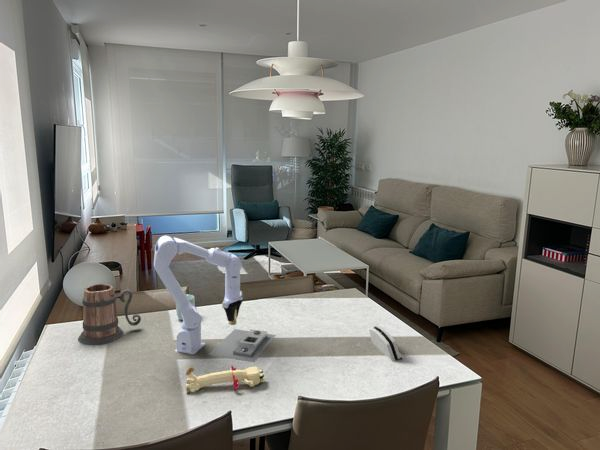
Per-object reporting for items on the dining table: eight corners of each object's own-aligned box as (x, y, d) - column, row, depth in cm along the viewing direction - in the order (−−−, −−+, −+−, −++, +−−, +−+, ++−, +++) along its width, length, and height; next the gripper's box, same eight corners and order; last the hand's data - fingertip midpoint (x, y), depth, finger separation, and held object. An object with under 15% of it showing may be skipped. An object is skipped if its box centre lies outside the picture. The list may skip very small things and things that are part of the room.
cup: (192, 322, 193) (191, 300, 192) (174, 322, 194) (173, 300, 192) (196, 315, 201) (196, 294, 199) (179, 315, 201) (178, 293, 199)
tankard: (79, 349, 167) (76, 297, 163) (76, 331, 181) (73, 284, 177) (145, 337, 178) (143, 288, 175) (137, 321, 193) (135, 277, 189)
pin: (234, 325, 174) (234, 310, 172) (227, 324, 174) (227, 309, 173) (237, 322, 176) (237, 307, 175) (230, 321, 177) (230, 307, 176)
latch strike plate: (250, 357, 163) (250, 350, 163) (233, 354, 165) (233, 347, 164) (267, 337, 180) (267, 330, 180) (251, 334, 182) (251, 328, 182)
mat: (254, 363, 160) (254, 362, 160) (208, 355, 164) (208, 354, 164) (275, 336, 183) (275, 335, 182) (234, 330, 187) (234, 329, 187)
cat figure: (187, 401, 138) (267, 388, 143) (184, 376, 136) (265, 363, 141) (187, 384, 147) (263, 372, 152) (185, 360, 146) (261, 348, 151)
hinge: (404, 359, 166) (398, 336, 163) (393, 365, 165) (387, 342, 162) (382, 340, 182) (376, 319, 179) (372, 345, 181) (366, 324, 178)
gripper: (234, 292, 165) (234, 327, 167) (249, 281, 178) (249, 313, 181) (217, 290, 166) (217, 325, 169) (232, 279, 180) (232, 311, 183)
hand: (232, 319), depth 175 cm, fingers closed on pin, 3 cm apart
